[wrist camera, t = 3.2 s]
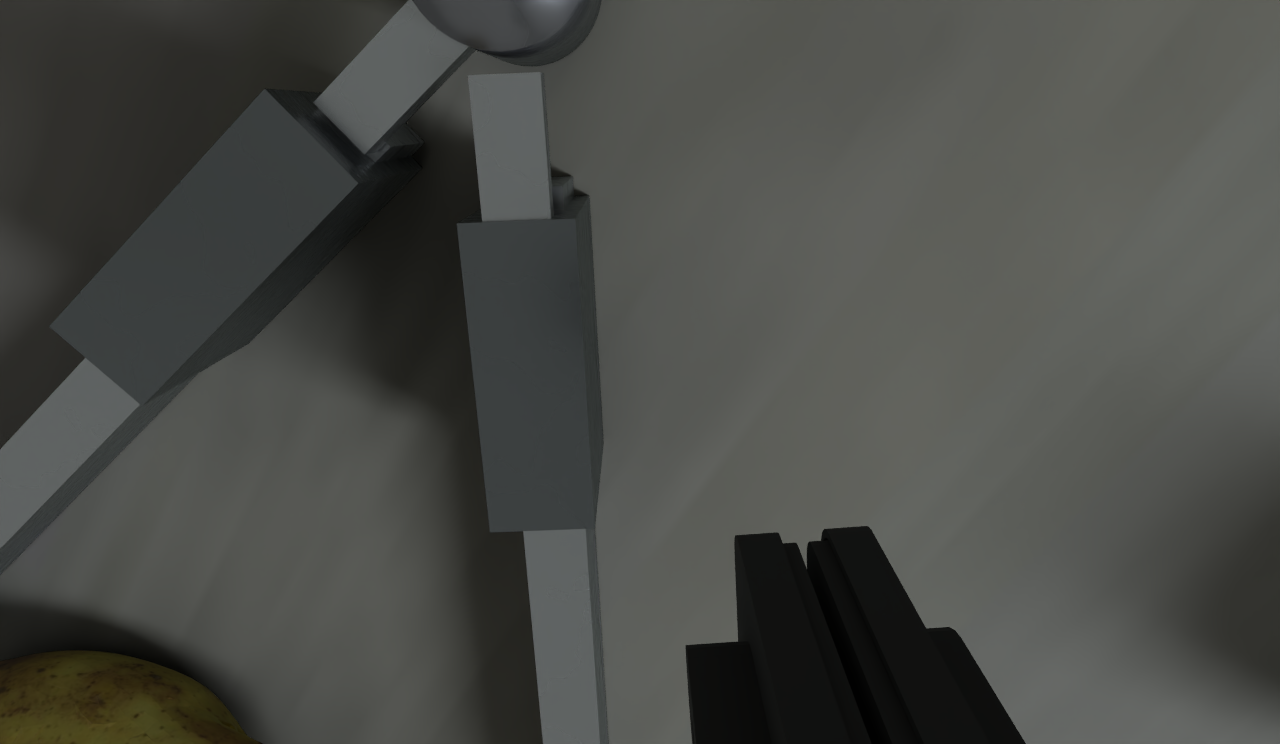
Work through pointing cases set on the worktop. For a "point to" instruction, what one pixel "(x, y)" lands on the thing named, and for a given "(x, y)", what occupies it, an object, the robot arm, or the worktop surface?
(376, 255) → the worktop surface
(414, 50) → the tongs fixed
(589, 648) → the tongs jaw
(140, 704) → the potato
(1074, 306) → the worktop surface
